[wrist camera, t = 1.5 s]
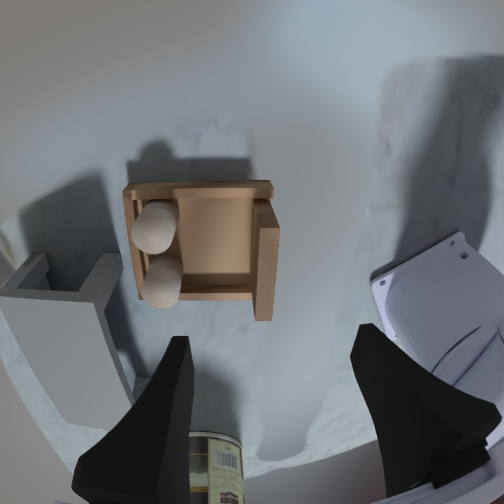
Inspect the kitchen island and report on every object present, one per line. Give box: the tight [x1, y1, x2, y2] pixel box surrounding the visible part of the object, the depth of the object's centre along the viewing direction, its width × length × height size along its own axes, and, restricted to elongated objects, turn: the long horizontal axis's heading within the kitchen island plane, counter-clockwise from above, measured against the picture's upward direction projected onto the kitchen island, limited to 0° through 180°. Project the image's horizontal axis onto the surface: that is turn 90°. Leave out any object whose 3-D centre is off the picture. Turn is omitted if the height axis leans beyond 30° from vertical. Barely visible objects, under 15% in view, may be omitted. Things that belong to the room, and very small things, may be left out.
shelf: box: [0, 253, 150, 430], centre depth 22 cm, size 8×15×6 cm, turn 178°
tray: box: [122, 180, 280, 321], centre depth 19 cm, size 9×8×5 cm
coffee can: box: [189, 432, 246, 504], centre depth 29 cm, size 10×10×14 cm
